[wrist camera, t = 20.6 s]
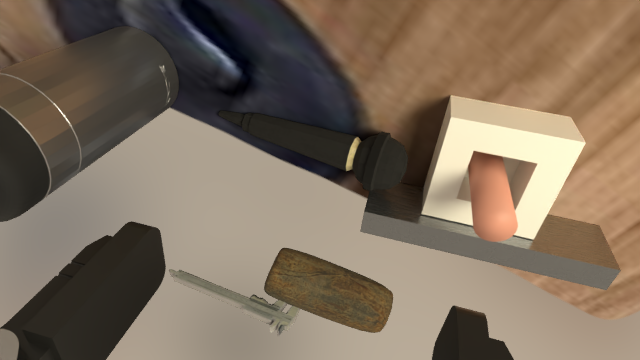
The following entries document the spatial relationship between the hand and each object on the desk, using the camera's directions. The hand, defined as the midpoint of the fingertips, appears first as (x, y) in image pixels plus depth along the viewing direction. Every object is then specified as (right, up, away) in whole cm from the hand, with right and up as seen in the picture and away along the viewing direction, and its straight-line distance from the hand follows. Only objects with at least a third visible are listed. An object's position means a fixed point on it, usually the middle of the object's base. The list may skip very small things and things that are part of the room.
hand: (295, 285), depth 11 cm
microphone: (0, +8, +30) cm, 32 cm away
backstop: (+17, 0, +31) cm, 35 cm away
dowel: (+16, +5, +27) cm, 31 cm away
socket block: (+17, +5, +27) cm, 32 cm away
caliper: (-12, -12, +48) cm, 51 cm away
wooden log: (+2, -9, +41) cm, 42 cm away
